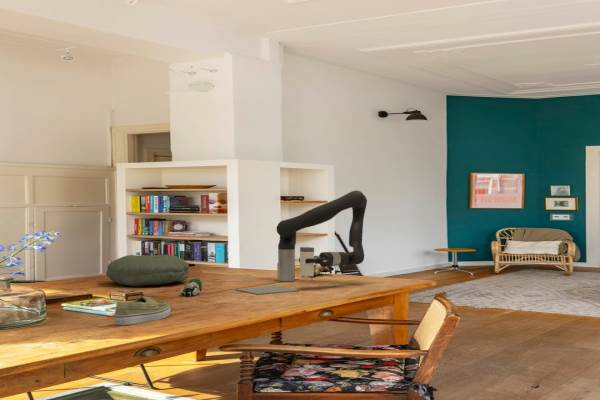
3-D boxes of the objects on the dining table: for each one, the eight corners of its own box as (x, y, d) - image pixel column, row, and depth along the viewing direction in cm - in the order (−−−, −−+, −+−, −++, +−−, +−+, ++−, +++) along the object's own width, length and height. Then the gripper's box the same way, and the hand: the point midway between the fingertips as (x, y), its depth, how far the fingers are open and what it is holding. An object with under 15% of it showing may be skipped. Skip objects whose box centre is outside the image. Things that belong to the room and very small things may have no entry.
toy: (195, 303, 337) (208, 290, 351) (194, 288, 335) (206, 276, 349) (178, 302, 339) (191, 290, 353) (176, 287, 337) (189, 276, 351)
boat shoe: (178, 315, 286) (178, 292, 286) (132, 327, 259) (132, 302, 259) (155, 314, 290) (155, 291, 290) (108, 325, 264) (108, 300, 264)
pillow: (94, 283, 390) (131, 291, 359) (94, 255, 389) (132, 261, 359) (165, 277, 418) (205, 284, 387) (165, 251, 418) (205, 256, 387)
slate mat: (235, 290, 361) (235, 289, 361) (276, 286, 375) (276, 285, 375) (257, 294, 345) (257, 293, 345) (299, 291, 359) (299, 290, 359)
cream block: (299, 275, 367) (300, 247, 367) (307, 274, 370) (308, 247, 370) (305, 276, 363) (306, 248, 363) (313, 275, 366) (314, 247, 366)
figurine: (322, 280, 413) (340, 272, 440) (322, 270, 412) (340, 262, 440) (292, 279, 420) (311, 271, 448) (291, 268, 420) (311, 261, 447)
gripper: (321, 250, 381) (294, 252, 371) (338, 253, 369) (311, 254, 359) (321, 265, 381) (294, 266, 371) (338, 267, 369) (310, 269, 359)
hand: (302, 260), depth 365 cm, fingers closed on cream block, 5 cm apart
